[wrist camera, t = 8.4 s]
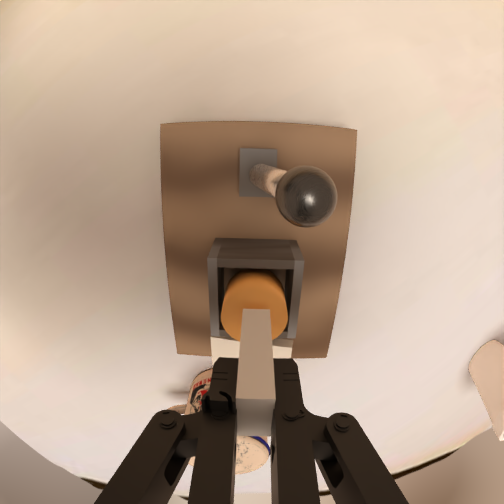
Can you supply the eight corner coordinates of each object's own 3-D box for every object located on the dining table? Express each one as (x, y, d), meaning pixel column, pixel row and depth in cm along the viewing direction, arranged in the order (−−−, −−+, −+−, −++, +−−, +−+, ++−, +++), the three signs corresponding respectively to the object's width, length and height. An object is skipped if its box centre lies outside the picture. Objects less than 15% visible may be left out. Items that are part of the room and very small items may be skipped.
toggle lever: (239, 155, 17) (289, 167, 9) (277, 155, 18) (351, 170, 10) (238, 193, 18) (285, 237, 10) (275, 192, 19) (345, 234, 11)
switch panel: (170, 125, 21) (140, 120, 15) (346, 130, 21) (378, 128, 15) (182, 338, 28) (168, 383, 22) (321, 341, 28) (334, 387, 22)
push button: (225, 266, 19) (219, 288, 17) (285, 268, 19) (290, 290, 17) (225, 317, 21) (222, 343, 18) (281, 319, 21) (284, 344, 18)
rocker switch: (214, 329, 23) (210, 336, 22) (293, 340, 22) (292, 347, 21) (215, 358, 25) (212, 366, 24) (289, 368, 23) (288, 376, 23)
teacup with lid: (264, 361, 29) (267, 456, 18) (270, 412, 33) (273, 493, 22) (156, 364, 30) (125, 448, 19) (177, 413, 33) (159, 488, 22)
